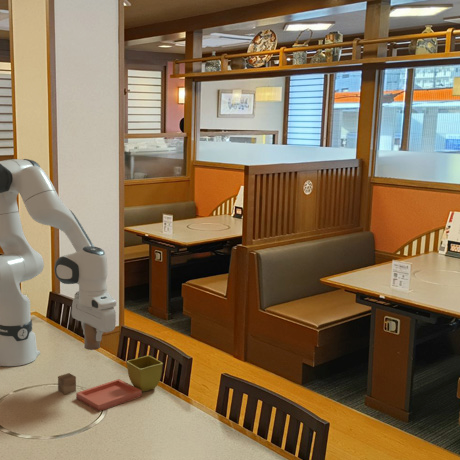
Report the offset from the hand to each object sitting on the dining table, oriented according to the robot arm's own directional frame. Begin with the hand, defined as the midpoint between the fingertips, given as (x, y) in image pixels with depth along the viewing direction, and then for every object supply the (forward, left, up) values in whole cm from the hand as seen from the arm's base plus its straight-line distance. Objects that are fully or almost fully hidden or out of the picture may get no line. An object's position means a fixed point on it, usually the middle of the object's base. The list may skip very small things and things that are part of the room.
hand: (92, 337), depth 200 cm
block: (0, -10, -15) cm, 18 cm away
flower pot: (+15, +10, -16) cm, 24 cm away
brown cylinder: (0, 0, -3) cm, 3 cm away
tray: (+13, -3, -15) cm, 21 cm away
